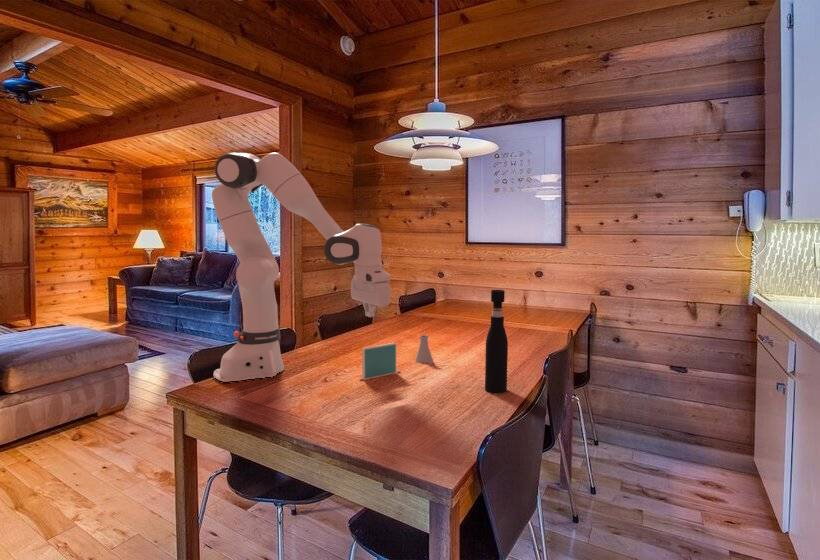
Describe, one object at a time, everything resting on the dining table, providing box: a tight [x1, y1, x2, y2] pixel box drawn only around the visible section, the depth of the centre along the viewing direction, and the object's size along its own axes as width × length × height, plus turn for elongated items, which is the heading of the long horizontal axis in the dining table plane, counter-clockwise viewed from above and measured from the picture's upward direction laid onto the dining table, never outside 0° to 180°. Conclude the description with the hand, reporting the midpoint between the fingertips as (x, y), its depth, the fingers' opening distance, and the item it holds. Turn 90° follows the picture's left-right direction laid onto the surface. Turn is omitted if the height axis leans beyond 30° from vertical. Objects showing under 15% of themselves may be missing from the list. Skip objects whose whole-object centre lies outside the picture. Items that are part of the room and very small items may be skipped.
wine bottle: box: [484, 289, 509, 394], centre depth 139 cm, size 6×6×30 cm
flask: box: [414, 334, 435, 366], centre depth 167 cm, size 7×7×10 cm
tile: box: [361, 341, 398, 381], centre depth 149 cm, size 12×1×10 cm, turn 124°
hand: (369, 316), depth 153 cm, fingers closed
